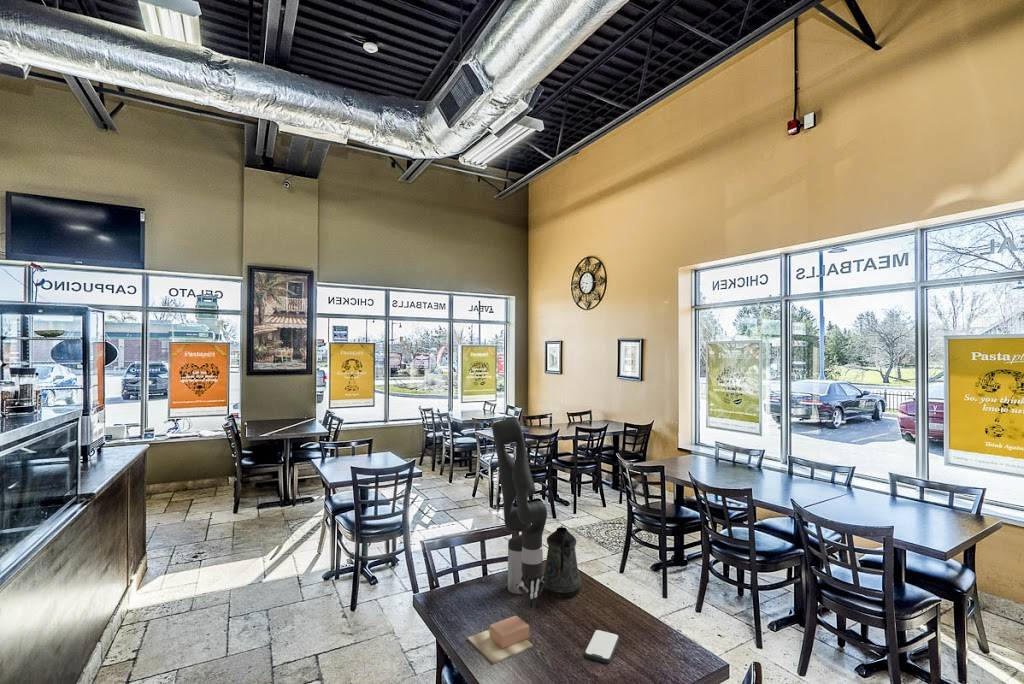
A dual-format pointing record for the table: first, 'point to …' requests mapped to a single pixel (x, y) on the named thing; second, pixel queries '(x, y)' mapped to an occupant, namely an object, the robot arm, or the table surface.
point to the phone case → (602, 646)
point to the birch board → (497, 647)
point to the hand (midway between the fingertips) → (531, 607)
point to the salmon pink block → (509, 631)
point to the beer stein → (561, 565)
